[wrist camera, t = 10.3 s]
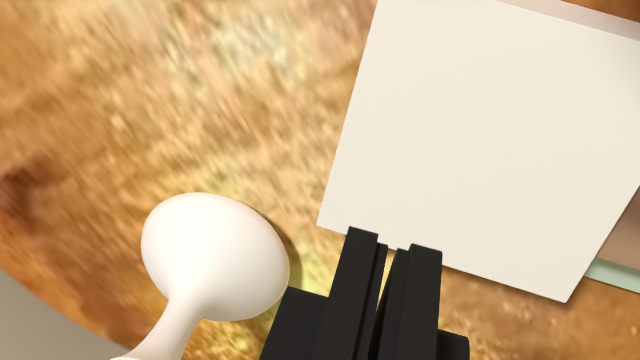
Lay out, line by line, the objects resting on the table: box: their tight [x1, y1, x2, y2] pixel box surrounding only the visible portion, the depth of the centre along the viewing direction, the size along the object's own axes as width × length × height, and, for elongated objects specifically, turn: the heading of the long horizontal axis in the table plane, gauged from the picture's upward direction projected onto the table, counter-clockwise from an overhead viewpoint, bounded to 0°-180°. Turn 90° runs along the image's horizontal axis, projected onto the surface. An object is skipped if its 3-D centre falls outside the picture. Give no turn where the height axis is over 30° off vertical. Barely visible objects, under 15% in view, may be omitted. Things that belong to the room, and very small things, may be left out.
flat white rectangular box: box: [316, 0, 640, 303], centre depth 34 cm, size 16×16×4 cm
